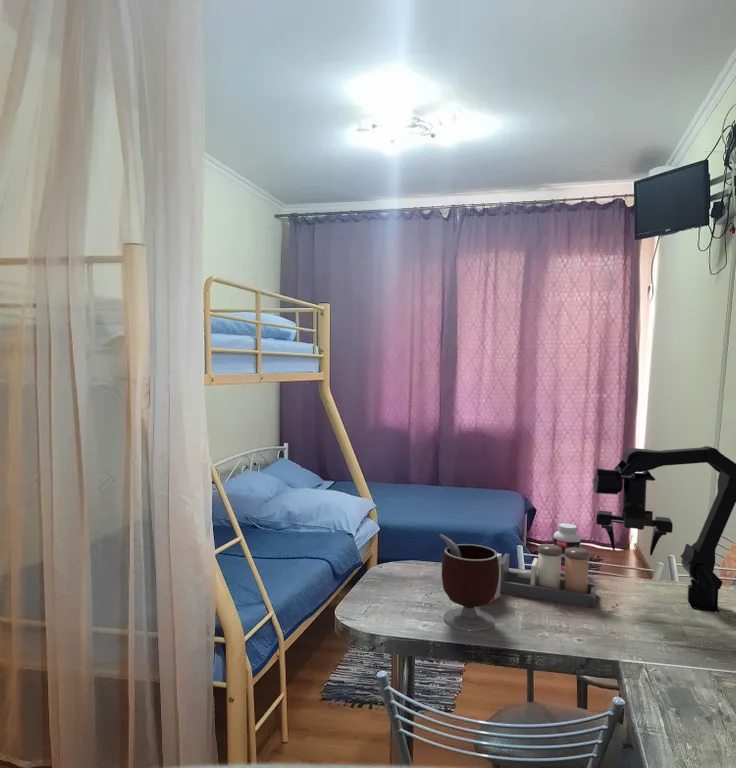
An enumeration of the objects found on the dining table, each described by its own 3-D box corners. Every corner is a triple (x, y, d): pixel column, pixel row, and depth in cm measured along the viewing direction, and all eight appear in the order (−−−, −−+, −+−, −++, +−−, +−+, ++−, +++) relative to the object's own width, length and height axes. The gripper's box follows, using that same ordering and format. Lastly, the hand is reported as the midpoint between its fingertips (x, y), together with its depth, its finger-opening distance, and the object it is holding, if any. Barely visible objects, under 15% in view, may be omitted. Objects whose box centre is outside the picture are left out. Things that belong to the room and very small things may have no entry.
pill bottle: (551, 574, 185) (553, 527, 185) (552, 566, 193) (553, 521, 193) (580, 577, 183) (581, 530, 183) (579, 569, 191) (580, 523, 190)
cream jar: (561, 591, 171) (562, 545, 171) (559, 599, 166) (560, 551, 165) (538, 588, 174) (539, 542, 173) (535, 595, 168) (537, 548, 168)
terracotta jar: (591, 597, 167) (592, 550, 167) (581, 604, 163) (583, 555, 162) (569, 591, 171) (571, 545, 171) (559, 597, 167) (561, 550, 166)
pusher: (537, 586, 174) (538, 558, 174) (533, 594, 168) (534, 566, 167) (519, 583, 176) (520, 555, 176) (515, 591, 170) (516, 563, 169)
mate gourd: (506, 618, 153) (508, 538, 152) (483, 638, 141) (486, 552, 140) (450, 603, 161) (452, 528, 161) (424, 620, 150) (426, 540, 149)
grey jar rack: (595, 594, 170) (596, 565, 170) (594, 607, 160) (595, 577, 160) (504, 580, 179) (505, 553, 179) (497, 592, 170) (498, 563, 170)
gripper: (596, 497, 162) (594, 556, 162) (675, 505, 154) (672, 566, 155) (597, 490, 172) (595, 545, 172) (671, 497, 165) (669, 554, 165)
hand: (632, 552), depth 166 cm, fingers open, 9 cm apart
